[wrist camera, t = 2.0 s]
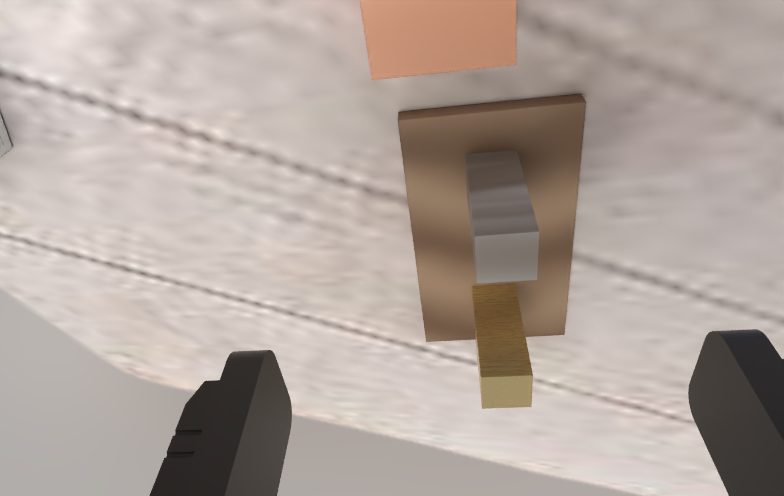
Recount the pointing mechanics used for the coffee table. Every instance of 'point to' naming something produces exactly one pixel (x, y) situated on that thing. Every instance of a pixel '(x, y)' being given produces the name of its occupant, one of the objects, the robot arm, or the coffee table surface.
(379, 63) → the salmon pink cube
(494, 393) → the brass post
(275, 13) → the coffee table surface
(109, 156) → the coffee table surface
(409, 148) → the board
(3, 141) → the small box
